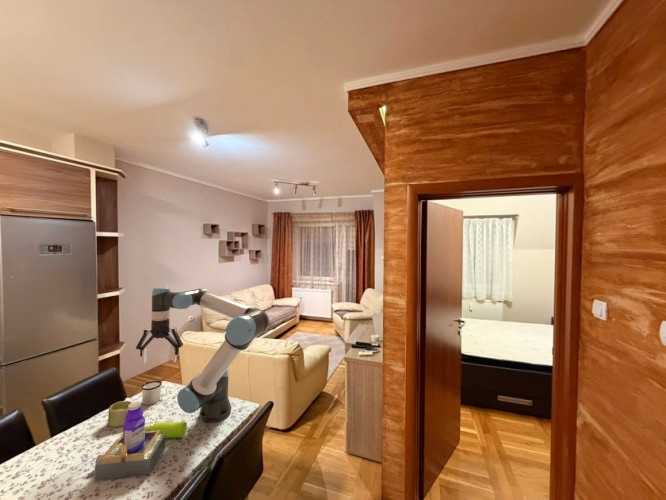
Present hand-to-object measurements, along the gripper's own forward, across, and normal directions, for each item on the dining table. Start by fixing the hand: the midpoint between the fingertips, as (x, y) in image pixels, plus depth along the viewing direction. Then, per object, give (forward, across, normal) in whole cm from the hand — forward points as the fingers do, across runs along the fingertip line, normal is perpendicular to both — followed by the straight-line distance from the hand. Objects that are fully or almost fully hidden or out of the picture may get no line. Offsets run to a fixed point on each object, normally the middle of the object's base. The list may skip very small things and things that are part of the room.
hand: (159, 362), depth 135 cm
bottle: (+23, -2, +28) cm, 36 cm away
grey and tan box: (+29, -1, +28) cm, 40 cm away
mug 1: (+29, +16, -1) cm, 33 cm away
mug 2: (+29, +10, -20) cm, 37 cm away
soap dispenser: (+26, -16, +14) cm, 33 cm away
